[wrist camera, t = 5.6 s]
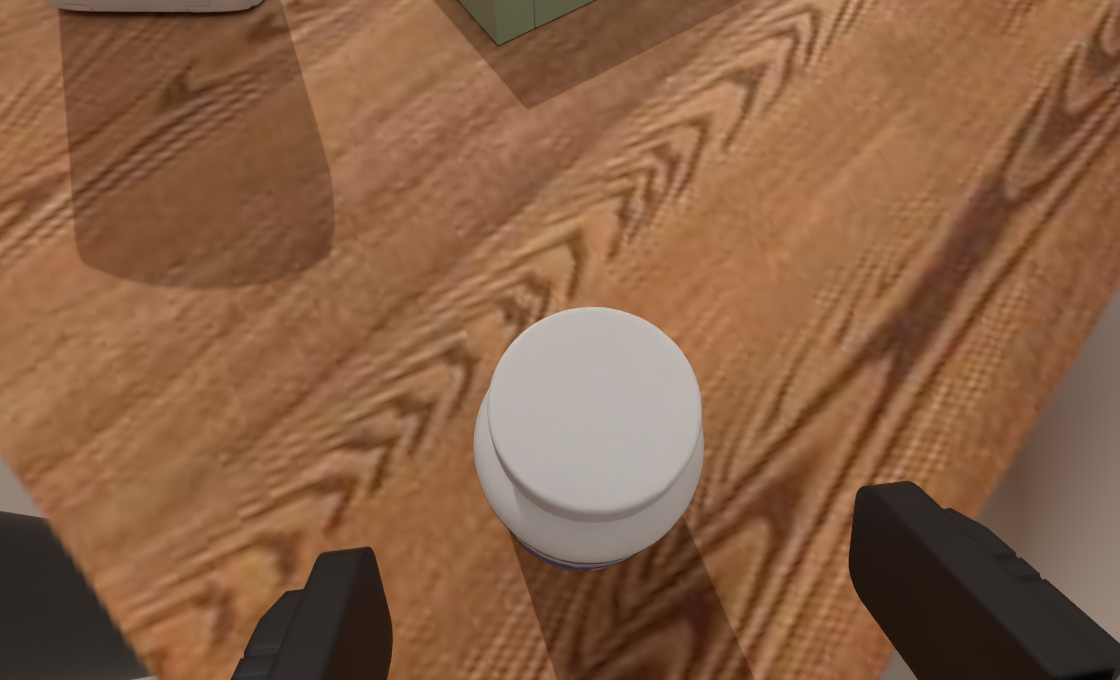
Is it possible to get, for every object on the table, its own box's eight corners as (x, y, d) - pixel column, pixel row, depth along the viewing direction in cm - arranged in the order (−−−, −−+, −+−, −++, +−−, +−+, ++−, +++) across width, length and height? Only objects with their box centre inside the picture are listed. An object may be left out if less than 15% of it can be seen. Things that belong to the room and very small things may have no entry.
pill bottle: (508, 399, 20) (473, 263, 12) (663, 410, 20) (735, 281, 12) (488, 566, 18) (428, 539, 10) (662, 581, 18) (746, 565, 10)
